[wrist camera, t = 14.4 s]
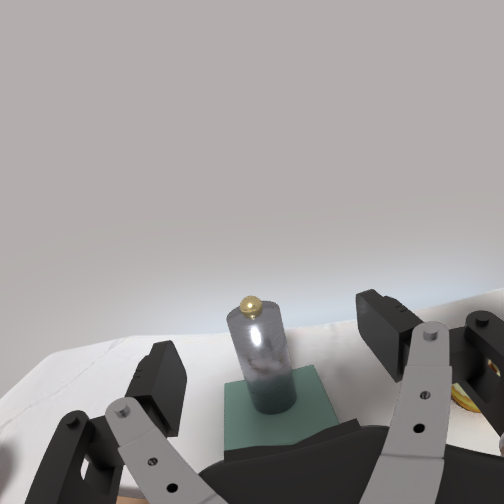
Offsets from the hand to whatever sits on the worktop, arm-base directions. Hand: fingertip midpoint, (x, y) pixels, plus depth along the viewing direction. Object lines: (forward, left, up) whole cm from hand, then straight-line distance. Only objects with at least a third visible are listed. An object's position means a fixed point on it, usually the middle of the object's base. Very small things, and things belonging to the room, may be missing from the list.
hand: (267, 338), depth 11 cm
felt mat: (+1, -12, -17) cm, 20 cm away
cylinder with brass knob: (0, -13, -16) cm, 20 cm away
